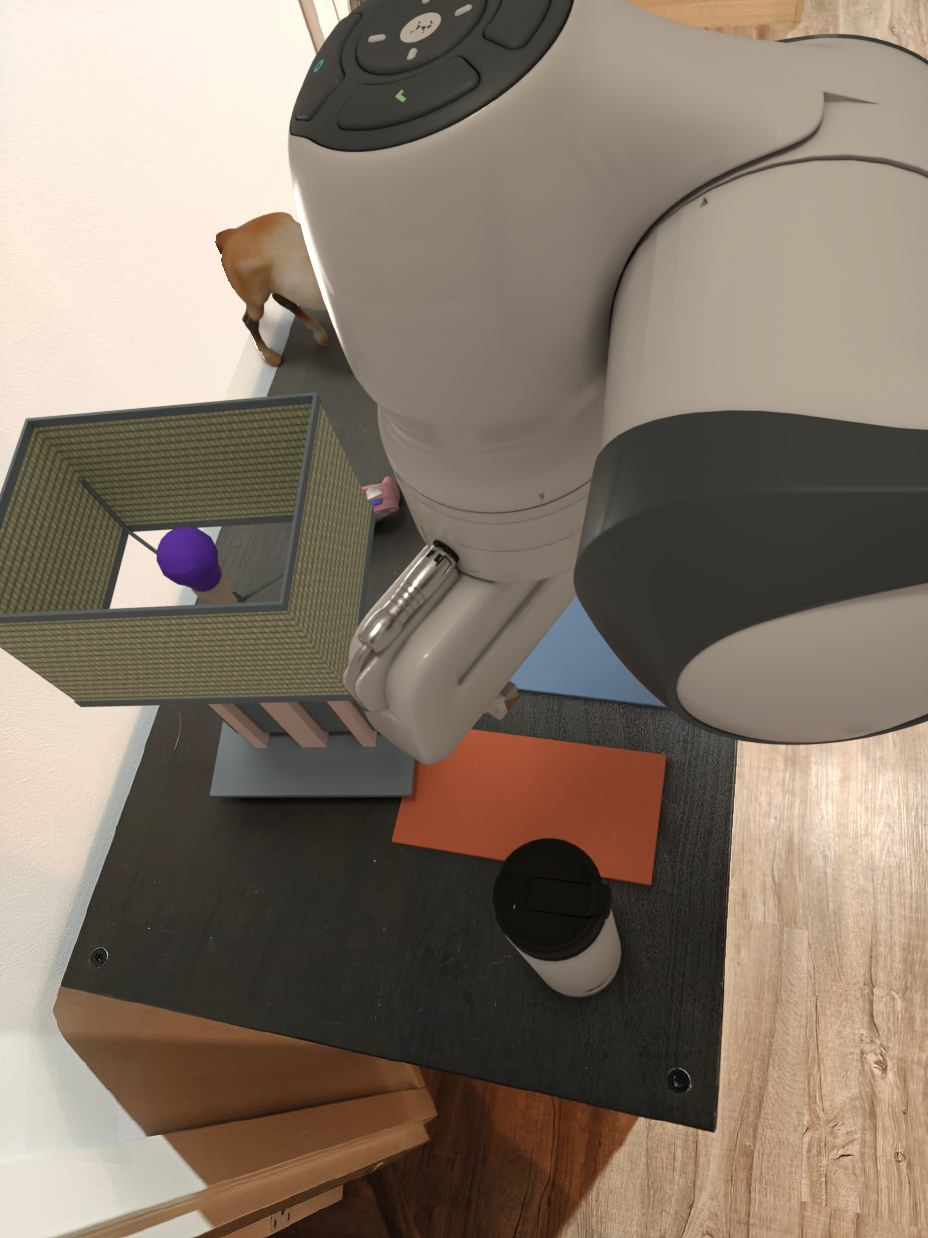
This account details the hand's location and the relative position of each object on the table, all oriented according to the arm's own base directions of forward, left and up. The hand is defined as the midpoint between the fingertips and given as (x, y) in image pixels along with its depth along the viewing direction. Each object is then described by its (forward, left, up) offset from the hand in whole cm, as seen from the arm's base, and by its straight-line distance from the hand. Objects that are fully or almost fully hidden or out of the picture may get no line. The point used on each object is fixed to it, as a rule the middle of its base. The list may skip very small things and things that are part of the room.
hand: (555, 628), depth 47 cm
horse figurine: (+31, -45, -30) cm, 63 cm away
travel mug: (-1, +11, -30) cm, 32 cm away
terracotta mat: (+5, +1, -30) cm, 30 cm away
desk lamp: (+23, -3, -30) cm, 38 cm away
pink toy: (+26, -23, -30) cm, 46 cm away
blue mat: (+5, -14, -30) cm, 33 cm away
